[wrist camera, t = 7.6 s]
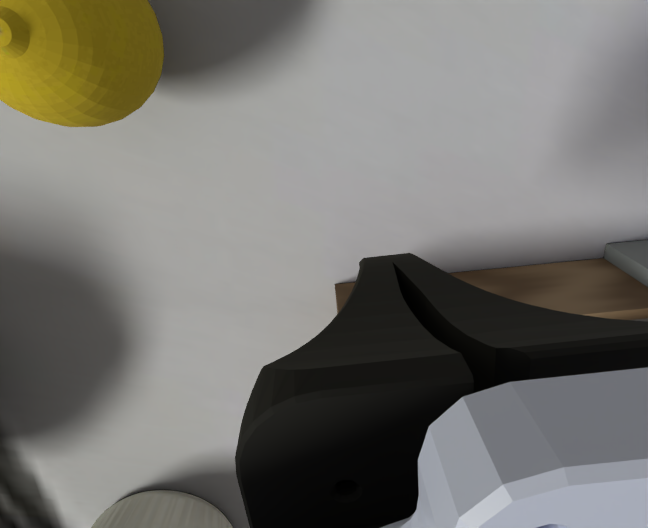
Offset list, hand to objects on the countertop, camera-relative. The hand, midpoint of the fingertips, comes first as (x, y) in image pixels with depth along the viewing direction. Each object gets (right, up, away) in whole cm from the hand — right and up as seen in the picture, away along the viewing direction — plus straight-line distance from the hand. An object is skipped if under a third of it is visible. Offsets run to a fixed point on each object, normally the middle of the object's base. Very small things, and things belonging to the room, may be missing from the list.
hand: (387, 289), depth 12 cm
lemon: (-10, +10, +7) cm, 16 cm away
